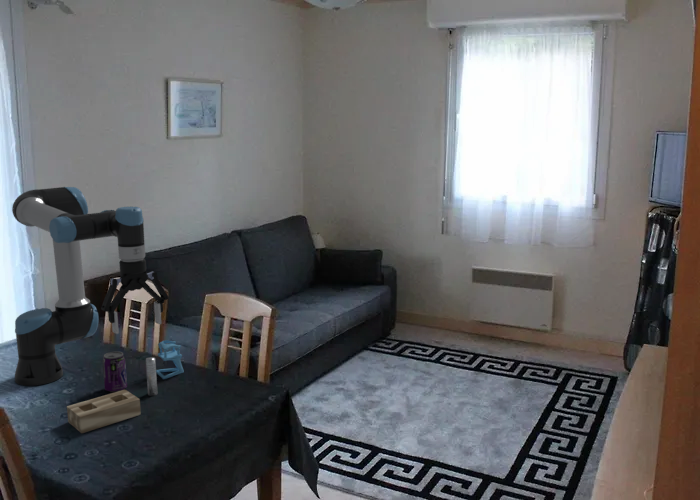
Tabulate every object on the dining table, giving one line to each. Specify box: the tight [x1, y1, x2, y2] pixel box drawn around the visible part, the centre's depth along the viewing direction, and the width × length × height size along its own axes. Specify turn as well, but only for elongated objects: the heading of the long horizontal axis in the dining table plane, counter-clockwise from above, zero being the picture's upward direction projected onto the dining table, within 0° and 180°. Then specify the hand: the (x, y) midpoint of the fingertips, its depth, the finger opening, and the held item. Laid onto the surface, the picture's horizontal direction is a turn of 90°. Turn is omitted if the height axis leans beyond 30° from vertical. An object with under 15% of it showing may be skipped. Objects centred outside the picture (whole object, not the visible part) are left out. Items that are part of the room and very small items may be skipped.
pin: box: [145, 356, 159, 397], centre depth 221 cm, size 3×3×12 cm
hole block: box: [66, 389, 142, 434], centre depth 204 cm, size 10×18×5 cm, turn 133°
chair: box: [156, 339, 184, 380], centre depth 238 cm, size 8×8×12 cm
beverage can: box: [101, 351, 128, 393], centre depth 225 cm, size 7×7×12 cm
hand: (137, 327), depth 207 cm, fingers open, 13 cm apart
